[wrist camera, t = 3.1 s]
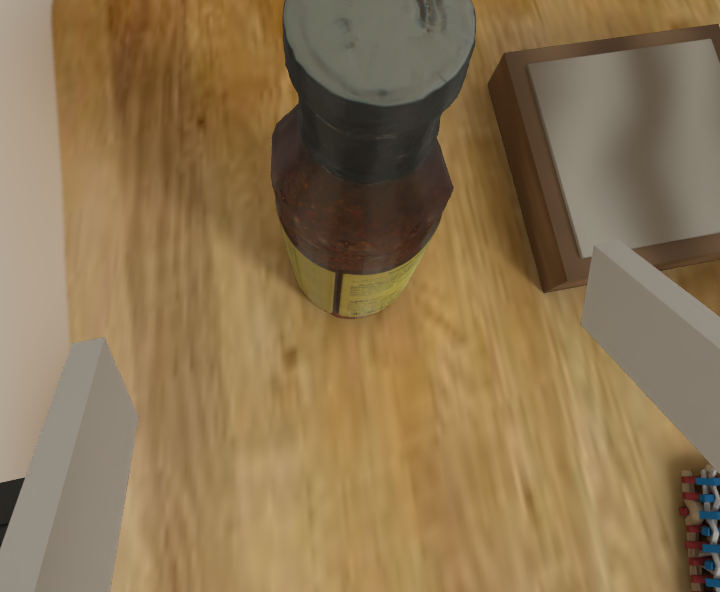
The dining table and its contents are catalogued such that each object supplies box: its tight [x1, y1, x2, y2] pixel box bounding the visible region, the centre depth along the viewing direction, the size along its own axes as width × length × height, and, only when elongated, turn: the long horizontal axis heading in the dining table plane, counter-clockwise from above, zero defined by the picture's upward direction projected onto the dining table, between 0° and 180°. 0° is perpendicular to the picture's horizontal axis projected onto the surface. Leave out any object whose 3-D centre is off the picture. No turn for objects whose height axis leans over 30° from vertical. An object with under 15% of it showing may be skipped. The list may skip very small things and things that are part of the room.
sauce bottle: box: [271, 0, 476, 319], centre depth 21 cm, size 7×6×20 cm
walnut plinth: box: [488, 24, 720, 293], centre depth 32 cm, size 13×13×3 cm
